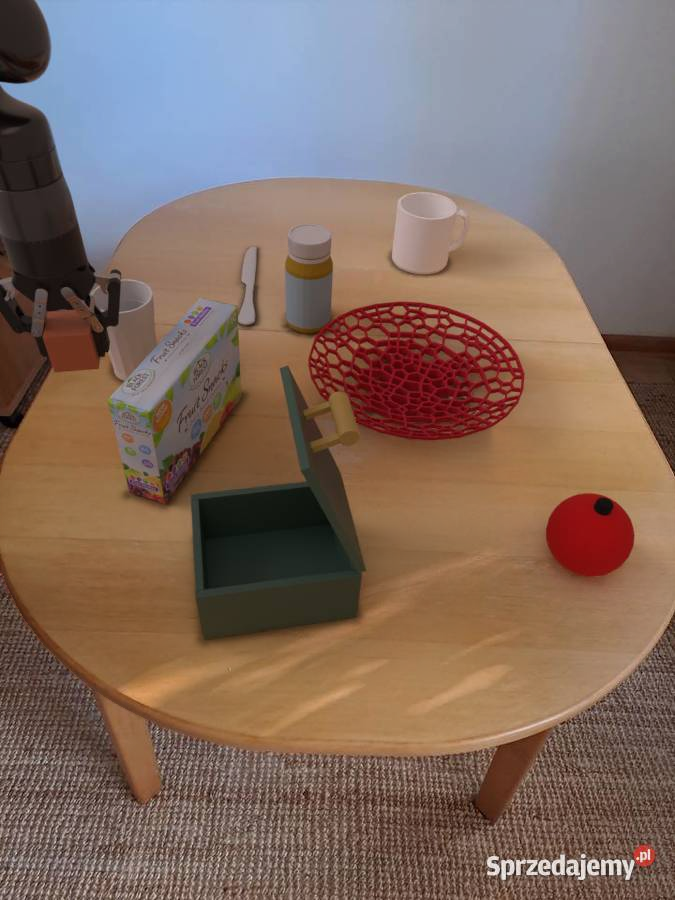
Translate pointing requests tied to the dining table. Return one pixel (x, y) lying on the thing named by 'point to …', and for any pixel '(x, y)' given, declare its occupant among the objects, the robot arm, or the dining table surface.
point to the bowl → (417, 373)
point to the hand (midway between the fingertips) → (77, 354)
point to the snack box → (178, 399)
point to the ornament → (590, 534)
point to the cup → (130, 326)
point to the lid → (325, 458)
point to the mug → (425, 232)
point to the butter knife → (248, 287)
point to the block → (70, 342)
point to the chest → (268, 561)
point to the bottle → (308, 278)
